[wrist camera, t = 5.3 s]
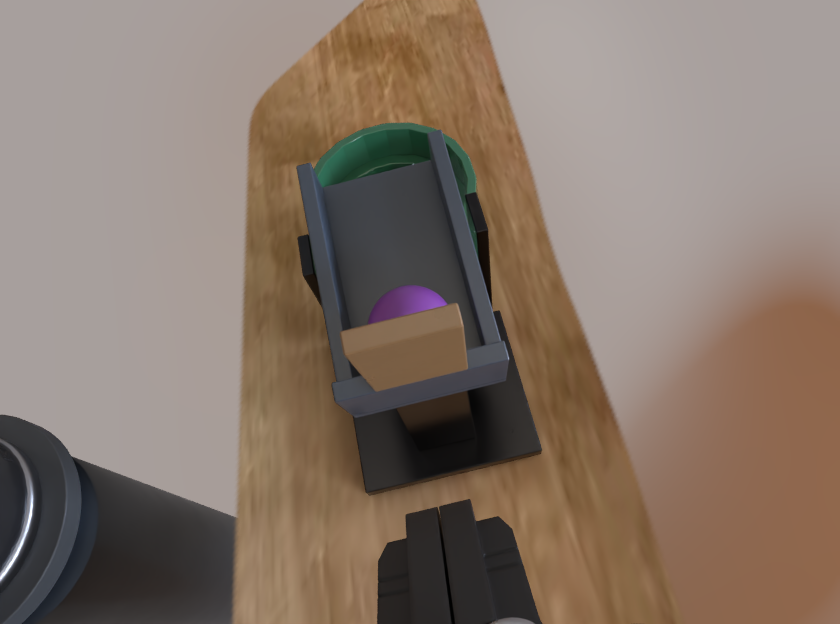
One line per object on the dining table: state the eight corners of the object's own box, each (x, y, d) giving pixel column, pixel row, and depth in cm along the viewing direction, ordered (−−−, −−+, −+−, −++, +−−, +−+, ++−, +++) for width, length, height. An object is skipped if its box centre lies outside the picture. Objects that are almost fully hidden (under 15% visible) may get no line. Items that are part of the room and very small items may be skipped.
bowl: (445, 328, 35) (435, 286, 31) (301, 281, 38) (274, 236, 33) (501, 198, 39) (500, 143, 34) (366, 162, 41) (349, 107, 37)
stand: (541, 454, 32) (555, 384, 22) (368, 496, 32) (310, 444, 22) (495, 300, 36) (490, 187, 26) (342, 338, 36) (283, 240, 26)
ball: (439, 393, 24) (432, 373, 21) (362, 364, 24) (345, 341, 21) (469, 318, 24) (466, 288, 21) (394, 292, 25) (381, 259, 22)
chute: (506, 381, 24) (517, 312, 16) (355, 418, 24) (290, 369, 16) (444, 162, 27) (428, 14, 19) (312, 195, 27) (240, 62, 19)
